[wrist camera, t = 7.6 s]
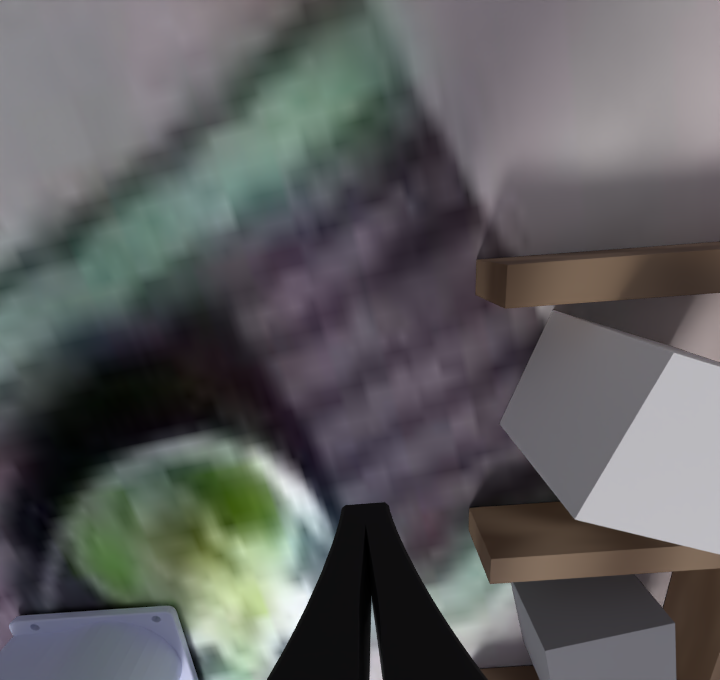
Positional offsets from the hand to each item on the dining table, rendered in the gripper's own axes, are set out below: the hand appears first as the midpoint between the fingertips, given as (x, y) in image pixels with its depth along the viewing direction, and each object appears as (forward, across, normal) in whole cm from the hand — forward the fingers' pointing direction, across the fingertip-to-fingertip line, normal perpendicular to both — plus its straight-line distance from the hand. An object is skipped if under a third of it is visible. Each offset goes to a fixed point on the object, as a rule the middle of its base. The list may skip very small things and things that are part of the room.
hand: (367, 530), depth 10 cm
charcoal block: (+7, -11, +13) cm, 18 cm away
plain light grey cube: (+7, -11, -1) cm, 13 cm away
